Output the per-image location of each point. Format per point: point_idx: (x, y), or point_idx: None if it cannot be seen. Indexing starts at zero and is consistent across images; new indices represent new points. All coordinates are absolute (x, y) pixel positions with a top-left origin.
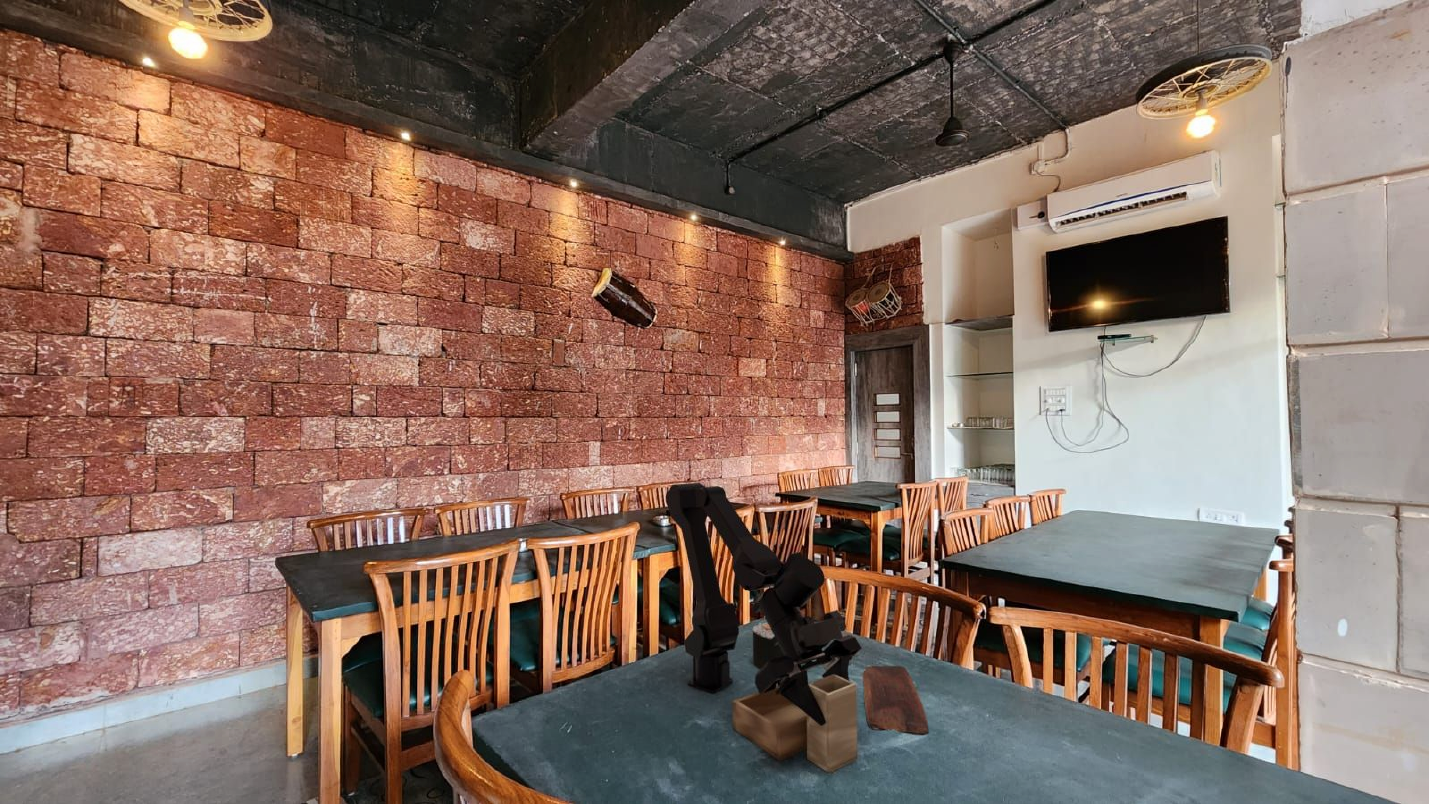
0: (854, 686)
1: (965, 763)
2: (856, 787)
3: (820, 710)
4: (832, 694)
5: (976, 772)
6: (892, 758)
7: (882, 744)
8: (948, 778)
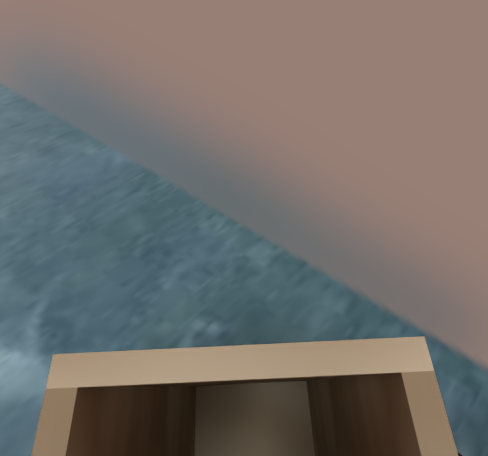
0: (84, 356)
1: (6, 205)
2: (291, 279)
3: None
4: (371, 340)
5: (28, 176)
6: (107, 315)
7: None
8: (91, 192)
